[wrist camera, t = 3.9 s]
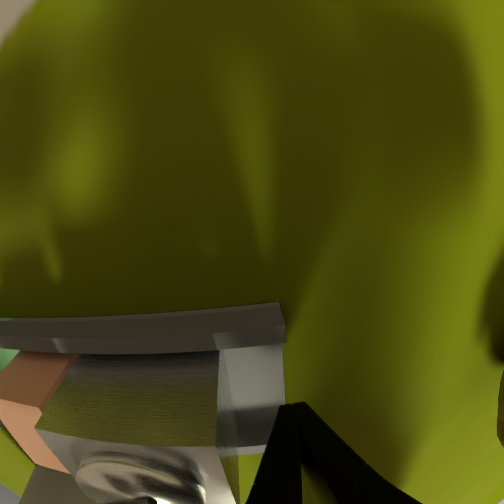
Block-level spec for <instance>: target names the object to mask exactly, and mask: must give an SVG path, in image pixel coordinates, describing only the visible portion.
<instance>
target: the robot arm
mask: <svg viewBox="0 0 504 504" xmlns="http://www.w3.org/2000/svg"><path fill="white" fill-rule="evenodd" d="M301 471H302V475H303V478H304V481H305V484H306V487H307V490H308V493H309V496H310V499H311V503H312V504H422V503H420V502H419V501H417V500H416V499H414V498H412V497H411V496H409V495H408V494H406V493H405V492H403V491H401V490H400V489H398V488H397V487H395V486H394V485H393V484H391V483H390V482H388V481H387V480H386V479H384V478H383V477H382V476H381V475H380V474H379V473H377V472H376V471H375V470H374V469H373V468H372V467H371V466H370V465H369V464H367V463H366V462H365V461H364V460H363V459H362V458H361V457H360V456H359V455H358V454H357V453H356V452H355V451H354V450H353V449H352V448H351V447H350V446H349V445H347V444H346V443H345V442H344V441H343V440H342V439H341V438H340V437H339V436H338V435H337V434H336V433H335V432H334V431H333V430H332V429H331V428H330V427H329V426H328V425H327V424H326V423H325V422H324V421H323V420H322V419H321V418H320V417H319V416H318V415H317V414H316V413H315V412H314V411H313V410H312V408H311V407H310V406H309V405H308V404H307V403H306V402H296V403H293V404H282V405H279V407H278V410H277V413H276V416H275V420H274V423H273V426H272V429H271V432H270V436H269V439H268V442H267V445H266V448H265V451H264V454H263V457H262V460H261V463H260V466H259V469H258V472H257V475H256V477H255V480H254V484H253V485H252V488H251V491H250V494H249V496H248V499H247V501H246V503H245V504H302V477H301Z"/></svg>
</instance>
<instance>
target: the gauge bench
mask: <svg viewBox="0 0 504 504" xmlns="http://www.w3.org/2000/svg"><path fill="white" fill-rule="evenodd" d="M282 343H287V339H286V324H285V321H284V318H283V314H282V311H281V308H280V304H279V302H270V303H262V304H253V305H243V306H234V307H224V308H213V309H202V310H190V311H178V312H165V313H150V314H134V315H115V316H92V317H58V318H0V373H1V372H2V371H3V369H4V368H5V367H6V366H7V365H8V364H9V362H10V361H11V360H12V359H13V358H14V357H15V356H16V354H17V353H18V352H19V351H20V350H23V351H36V352H51V353H72V354H157V353H180V352H197V351H211V350H223V355H224V360H225V365H226V371H227V376H228V381H229V386H230V391H231V396H232V401H233V406H234V411H235V416H236V421H237V439H238V455H248V454H259V453H264V451H265V448H266V445H267V442H268V439H269V436H270V432H271V429H272V426H273V423H274V420H275V416H276V413H277V410H278V407H279V405H282V404H285V390H284V369H283V350H282ZM0 426H3V427H5V425H4V424H3V422H2V421H1V420H0Z"/></svg>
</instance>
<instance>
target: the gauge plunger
mask: <svg viewBox="0 0 504 504" xmlns="http://www.w3.org/2000/svg"><path fill="white" fill-rule="evenodd" d="M34 429H35V430H36V432H37V433H38V434H39V436H40V437H41V438H42V440H43V441H44V442H45V444H46V445H47V446H48V447H49V449H50V450H51V451H52V452H53V454H54V455H55V456H56V457H57V459H58V460H59V461H60V462H61V463H62V464H63V466H64V467H65V468H66V469H67V470H68V471H69V472H70V474H71V475H72V476H73V477H74V478H75V480H76V483H77V485H78V486H79V487H80V489H81V490H82V491H83V492H84V493H85V494H86V495H87V496H89V497H90V498H91V499H93V500H94V501H96V502H97V503H99V504H240V492H239V467H238V439H237V421H236V416H235V411H234V406H233V401H232V396H231V391H230V386H229V381H228V376H227V371H226V365H225V360H224V355H223V350H211V351H197V352H180V353H157V354H79V356H78V357H77V359H76V360H75V362H74V363H73V365H72V366H71V368H70V369H69V371H68V373H67V374H66V376H65V377H64V379H63V380H62V382H61V384H60V385H59V387H58V388H57V390H56V392H55V393H54V395H53V396H52V398H51V400H50V401H49V403H48V405H47V406H46V408H45V410H44V411H43V413H42V415H41V416H40V418H39V420H38V422H37V423H36V425H35V427H34Z"/></svg>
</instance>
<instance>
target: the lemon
mask: <svg viewBox="0 0 504 504" xmlns="http://www.w3.org/2000/svg"><path fill="white" fill-rule="evenodd" d="M497 437H498V438H499V440H500V442H501V444H502V446H503V448H504V371H503V374H502V378H501V382H500V389H499V396H498V418H497Z"/></svg>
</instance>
